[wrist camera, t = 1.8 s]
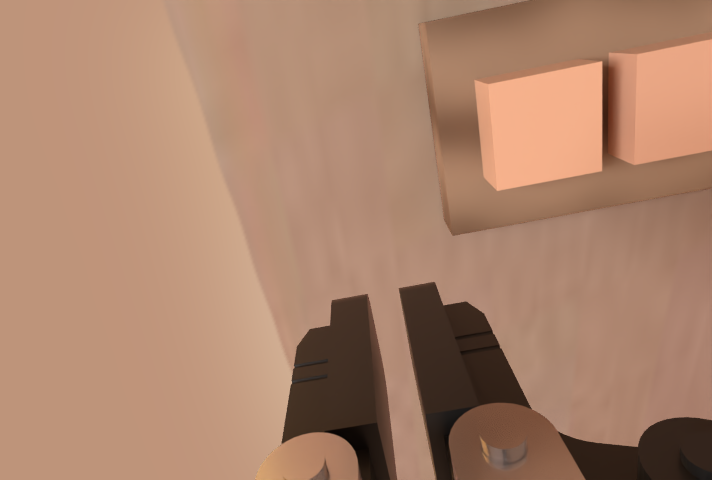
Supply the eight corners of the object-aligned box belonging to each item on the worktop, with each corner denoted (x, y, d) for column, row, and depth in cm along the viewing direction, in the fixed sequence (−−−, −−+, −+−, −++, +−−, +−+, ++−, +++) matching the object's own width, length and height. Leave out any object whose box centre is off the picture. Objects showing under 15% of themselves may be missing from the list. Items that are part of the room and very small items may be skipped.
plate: (418, 23, 25) (425, 22, 23) (757, -48, 24) (800, -57, 22) (444, 220, 29) (452, 235, 27) (733, 166, 28) (768, 177, 26)
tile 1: (474, 79, 24) (488, 84, 22) (577, 59, 24) (602, 61, 21) (483, 177, 26) (497, 190, 23) (578, 159, 25) (602, 171, 23)
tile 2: (608, 52, 24) (637, 54, 21) (714, 31, 23) (755, 30, 21) (608, 153, 25) (634, 165, 23) (706, 134, 25) (742, 144, 23)
